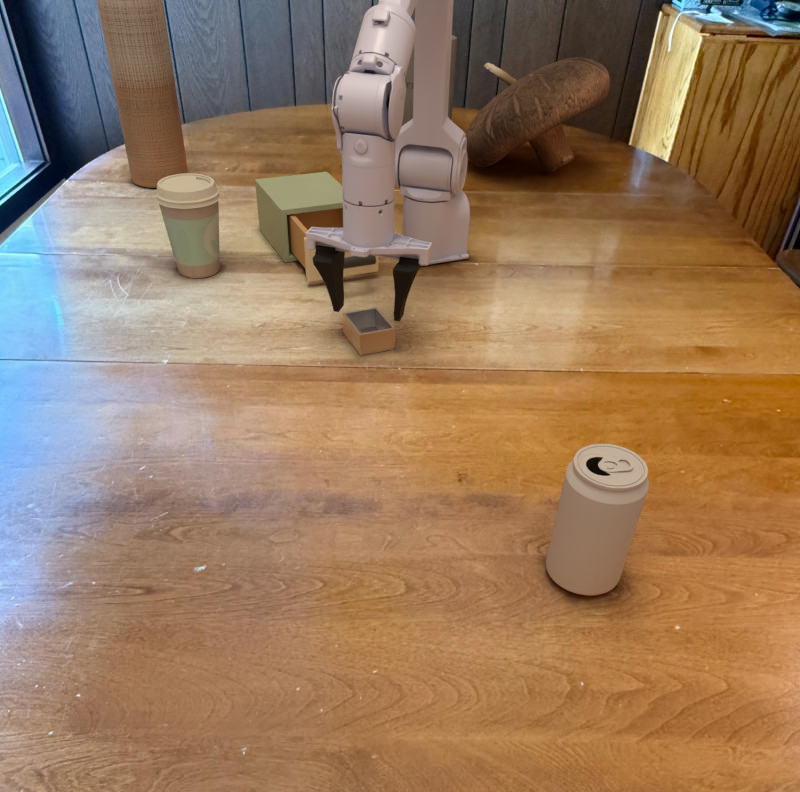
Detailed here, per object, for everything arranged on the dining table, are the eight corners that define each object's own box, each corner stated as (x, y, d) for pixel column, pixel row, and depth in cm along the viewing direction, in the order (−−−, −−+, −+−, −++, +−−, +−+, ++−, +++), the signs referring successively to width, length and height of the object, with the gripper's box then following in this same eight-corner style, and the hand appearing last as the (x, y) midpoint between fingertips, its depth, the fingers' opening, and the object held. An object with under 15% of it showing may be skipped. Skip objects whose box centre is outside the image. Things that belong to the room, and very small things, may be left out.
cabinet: (358, 252, 117) (358, 200, 112) (284, 262, 114) (281, 209, 108) (328, 220, 126) (327, 171, 121) (259, 229, 123) (254, 179, 118)
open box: (376, 327, 99) (376, 307, 98) (394, 349, 95) (395, 328, 94) (342, 333, 98) (342, 312, 96) (360, 355, 94) (359, 334, 92)
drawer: (390, 284, 107) (391, 242, 103) (319, 295, 104) (317, 253, 100) (347, 239, 118) (346, 200, 115) (282, 248, 115) (279, 208, 111)
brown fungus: (475, 142, 163) (544, 19, 148) (560, 207, 159) (638, 87, 145) (415, 135, 140) (489, -12, 126) (513, 210, 137) (600, 68, 123)
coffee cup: (216, 285, 107) (204, 196, 99) (158, 278, 108) (141, 189, 100) (238, 261, 114) (228, 175, 105) (183, 254, 115) (169, 169, 107)
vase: (200, 178, 140) (175, -9, 121) (160, 193, 133) (126, -1, 115) (161, 167, 143) (130, -15, 125) (120, 181, 137) (81, -9, 119)
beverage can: (537, 550, 69) (559, 440, 61) (607, 547, 70) (638, 438, 62) (553, 603, 64) (580, 491, 56) (628, 599, 65) (665, 488, 57)
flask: (381, 135, 162) (382, 22, 149) (380, 127, 166) (381, 17, 153) (452, 137, 163) (459, 24, 149) (449, 129, 167) (456, 19, 154)
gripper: (293, 201, 83) (300, 318, 93) (423, 218, 81) (418, 336, 90) (315, 181, 89) (320, 293, 98) (439, 196, 86) (432, 310, 95)
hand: (368, 312), depth 94 cm, fingers open, 7 cm apart
